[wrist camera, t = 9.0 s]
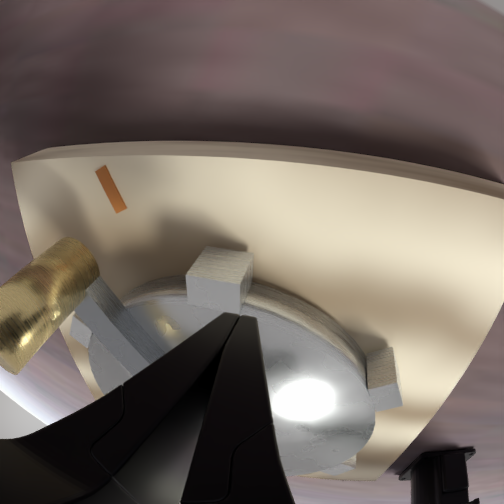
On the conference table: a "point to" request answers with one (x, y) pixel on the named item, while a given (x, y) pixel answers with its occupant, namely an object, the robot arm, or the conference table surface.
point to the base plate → (294, 246)
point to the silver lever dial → (193, 319)
